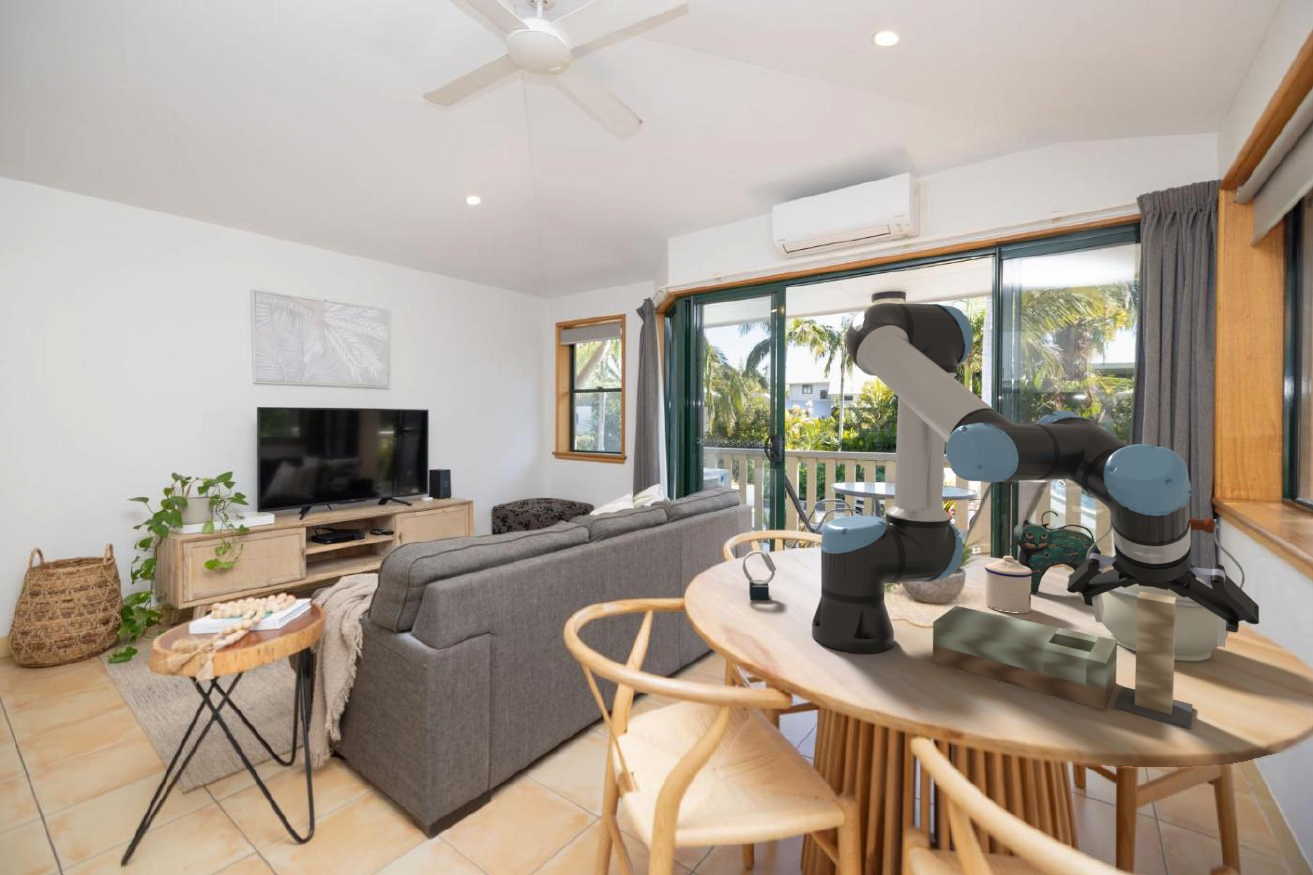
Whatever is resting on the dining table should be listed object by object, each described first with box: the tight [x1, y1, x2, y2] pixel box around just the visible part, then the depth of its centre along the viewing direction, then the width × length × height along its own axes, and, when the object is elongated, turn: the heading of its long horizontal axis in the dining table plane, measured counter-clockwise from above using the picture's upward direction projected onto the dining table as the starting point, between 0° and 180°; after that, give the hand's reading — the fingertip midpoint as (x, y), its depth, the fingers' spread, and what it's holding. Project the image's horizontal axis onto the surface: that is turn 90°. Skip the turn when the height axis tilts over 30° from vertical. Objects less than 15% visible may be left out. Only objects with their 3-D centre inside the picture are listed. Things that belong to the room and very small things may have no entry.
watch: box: [742, 549, 777, 601], centre depth 136 cm, size 6×8×11 cm
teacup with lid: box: [984, 555, 1033, 614], centre depth 128 cm, size 12×9×12 cm
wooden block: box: [1134, 592, 1176, 714], centre depth 83 cm, size 4×4×16 cm
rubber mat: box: [1115, 686, 1193, 730], centre depth 83 cm, size 8×8×1 cm
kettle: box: [1066, 514, 1246, 663], centre depth 106 cm, size 25×18×25 cm
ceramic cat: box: [1012, 510, 1103, 594], centre depth 139 cm, size 20×6×20 cm, turn 88°
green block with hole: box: [932, 605, 1118, 711], centre depth 95 cm, size 24×12×7 cm, turn 45°
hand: (1157, 625), depth 84 cm, fingers open, 13 cm apart
